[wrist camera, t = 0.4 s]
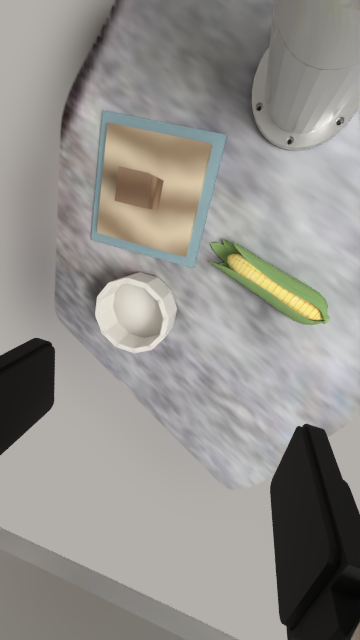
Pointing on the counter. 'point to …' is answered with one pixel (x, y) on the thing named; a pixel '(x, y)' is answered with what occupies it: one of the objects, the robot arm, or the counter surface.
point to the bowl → (135, 312)
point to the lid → (151, 187)
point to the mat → (206, 194)
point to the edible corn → (272, 284)
